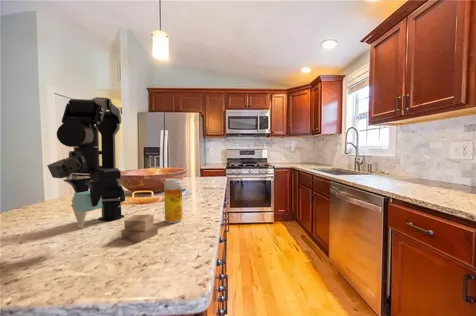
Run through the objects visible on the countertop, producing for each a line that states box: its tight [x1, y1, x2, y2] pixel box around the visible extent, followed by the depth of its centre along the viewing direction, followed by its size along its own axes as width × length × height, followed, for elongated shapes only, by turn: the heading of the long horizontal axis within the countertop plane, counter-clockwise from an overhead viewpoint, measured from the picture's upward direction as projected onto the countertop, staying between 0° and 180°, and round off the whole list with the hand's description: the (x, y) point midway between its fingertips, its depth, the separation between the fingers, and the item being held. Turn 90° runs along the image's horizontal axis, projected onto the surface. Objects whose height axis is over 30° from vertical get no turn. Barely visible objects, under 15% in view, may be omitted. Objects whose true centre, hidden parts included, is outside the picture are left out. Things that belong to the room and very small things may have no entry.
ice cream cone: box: [70, 196, 88, 230], centre depth 78 cm, size 5×5×15 cm
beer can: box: [163, 177, 183, 224], centre depth 85 cm, size 6×6×15 cm
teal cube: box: [73, 190, 102, 213], centre depth 64 cm, size 4×4×4 cm
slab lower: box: [120, 224, 159, 243], centre depth 71 cm, size 7×7×3 cm
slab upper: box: [123, 214, 155, 231], centre depth 71 cm, size 6×6×3 cm
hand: (88, 205), depth 64 cm, fingers closed on teal cube, 4 cm apart
